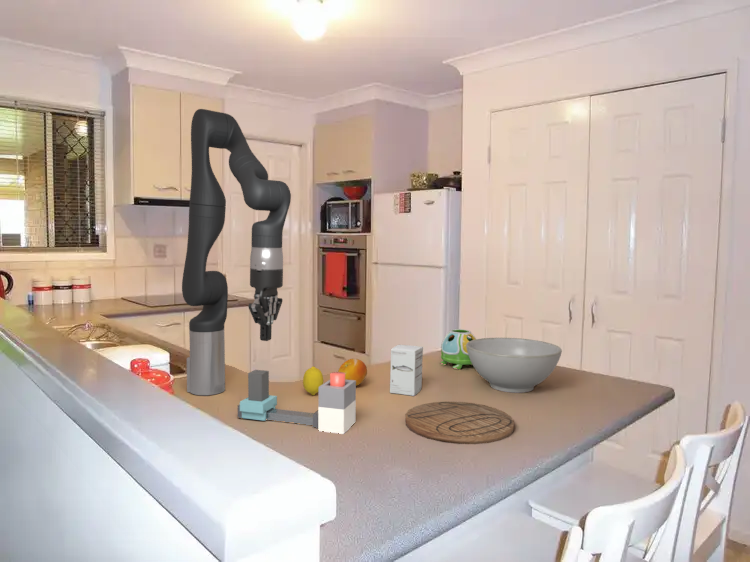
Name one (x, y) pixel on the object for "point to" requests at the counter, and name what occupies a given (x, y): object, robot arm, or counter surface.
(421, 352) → the supplement box
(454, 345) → the turtle holder
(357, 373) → the fruit
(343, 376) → the button
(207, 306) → the robot arm
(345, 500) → the counter surface
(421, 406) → the trivet
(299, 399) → the counter surface
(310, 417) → the rail
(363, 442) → the counter surface
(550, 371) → the decorative bowl
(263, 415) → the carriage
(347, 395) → the grey and white block
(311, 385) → the lemon
